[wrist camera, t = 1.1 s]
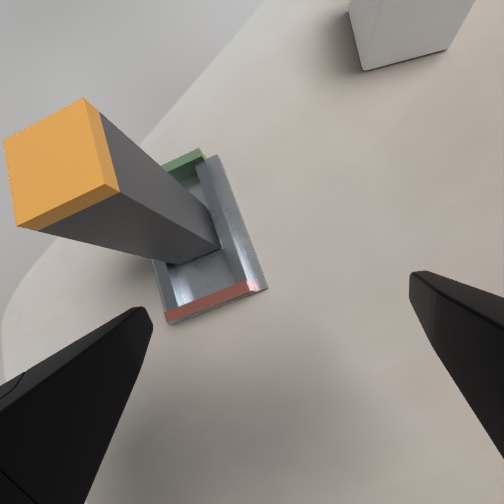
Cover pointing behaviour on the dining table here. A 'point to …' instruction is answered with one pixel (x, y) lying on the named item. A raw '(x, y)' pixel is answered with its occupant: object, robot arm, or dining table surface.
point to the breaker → (102, 189)
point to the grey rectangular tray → (218, 261)
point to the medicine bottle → (404, 28)
